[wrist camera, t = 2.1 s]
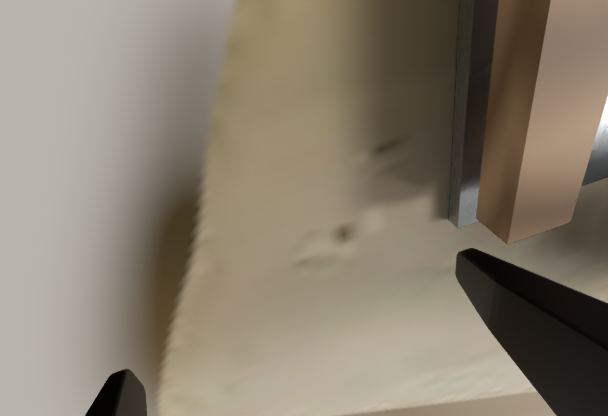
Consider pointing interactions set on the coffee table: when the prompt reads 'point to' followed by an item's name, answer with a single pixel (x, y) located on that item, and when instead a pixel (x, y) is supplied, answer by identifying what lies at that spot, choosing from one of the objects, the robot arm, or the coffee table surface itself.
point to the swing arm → (541, 113)
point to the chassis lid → (473, 111)
